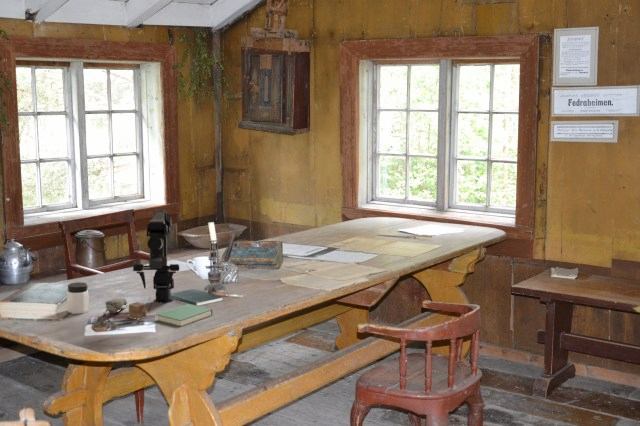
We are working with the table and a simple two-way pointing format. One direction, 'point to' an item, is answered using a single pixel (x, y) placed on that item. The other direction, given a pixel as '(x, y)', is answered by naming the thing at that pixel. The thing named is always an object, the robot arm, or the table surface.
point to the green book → (184, 315)
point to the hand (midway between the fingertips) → (156, 288)
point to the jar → (77, 298)
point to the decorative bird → (115, 305)
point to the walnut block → (137, 310)
